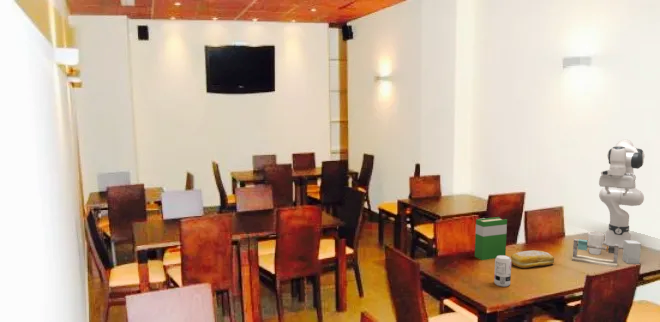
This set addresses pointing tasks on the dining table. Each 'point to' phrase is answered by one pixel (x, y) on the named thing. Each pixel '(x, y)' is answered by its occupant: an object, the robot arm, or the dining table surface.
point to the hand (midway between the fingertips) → (616, 195)
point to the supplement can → (502, 270)
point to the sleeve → (582, 244)
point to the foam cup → (595, 241)
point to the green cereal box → (490, 238)
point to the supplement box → (631, 251)
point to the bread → (531, 259)
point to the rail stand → (596, 260)
